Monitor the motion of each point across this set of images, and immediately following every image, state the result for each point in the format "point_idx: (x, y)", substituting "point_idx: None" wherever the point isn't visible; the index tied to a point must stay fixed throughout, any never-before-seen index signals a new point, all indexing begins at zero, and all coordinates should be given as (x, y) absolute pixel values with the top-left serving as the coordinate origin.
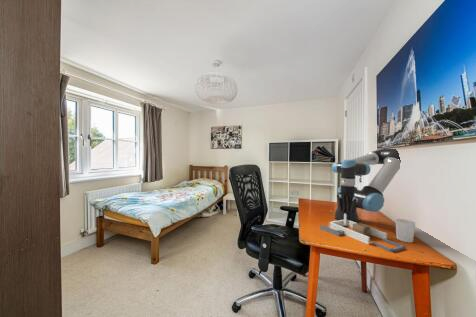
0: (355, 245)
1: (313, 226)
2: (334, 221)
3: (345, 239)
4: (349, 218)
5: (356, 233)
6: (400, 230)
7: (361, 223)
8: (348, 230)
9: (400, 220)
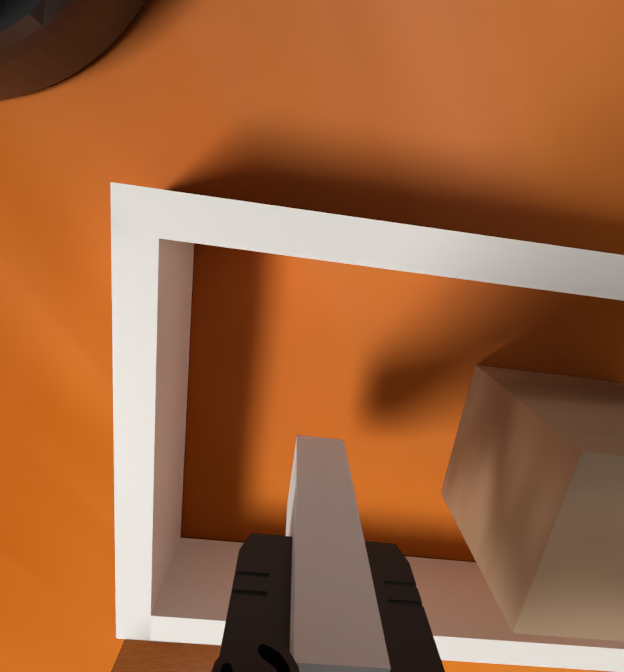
0: None
1: (47, 665)
2: (129, 543)
3: (459, 663)
4: (399, 588)
5: (578, 662)
6: None
7: (621, 470)
8: (465, 652)
9: None
